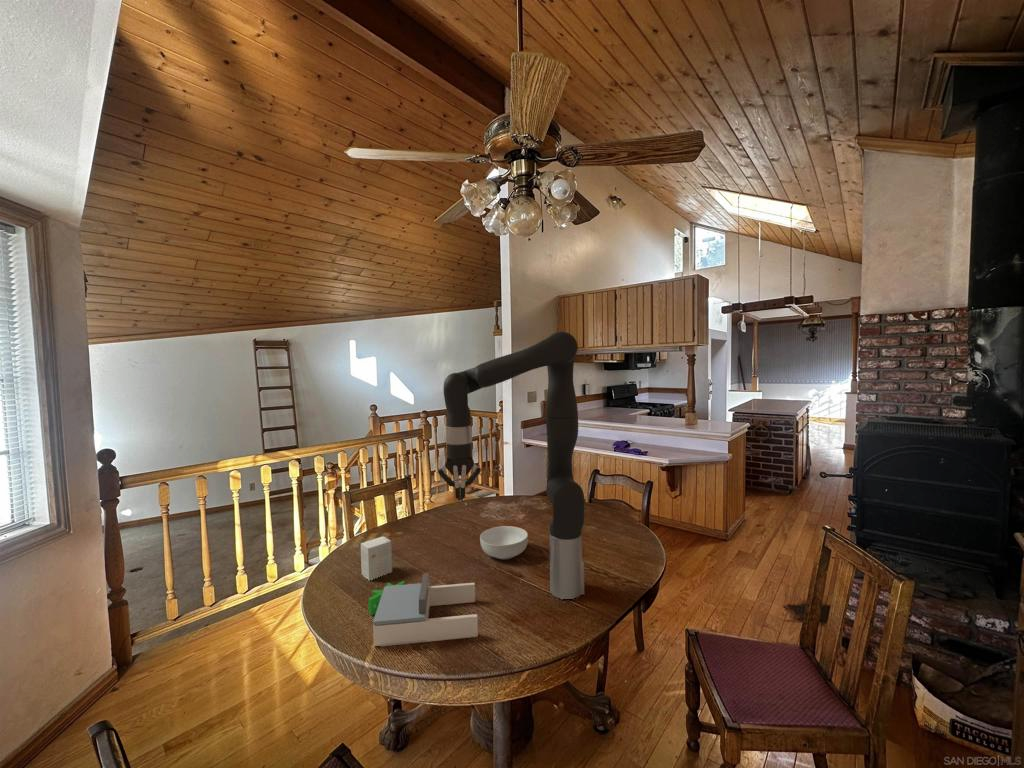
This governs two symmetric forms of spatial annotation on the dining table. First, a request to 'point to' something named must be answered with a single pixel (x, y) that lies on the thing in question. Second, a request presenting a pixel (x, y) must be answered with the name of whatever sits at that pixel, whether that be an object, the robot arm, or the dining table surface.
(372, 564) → the small box
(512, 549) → the cereal bowl
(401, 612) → the lid
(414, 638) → the housing
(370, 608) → the pipe clamp
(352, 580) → the dining table surface
